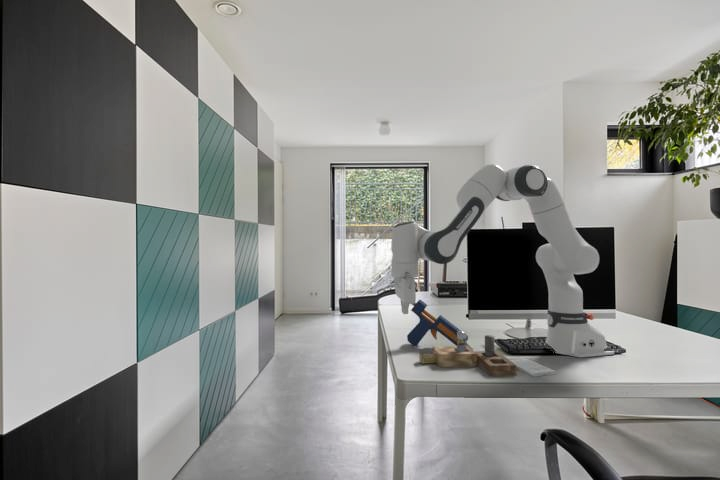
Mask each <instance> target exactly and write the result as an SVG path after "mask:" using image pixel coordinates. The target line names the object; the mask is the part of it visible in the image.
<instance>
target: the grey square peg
mask: <svg viewBox="0 0 720 480" xmlns="http://www.w3.org/2000/svg"><path fill="white" fill-rule="evenodd" d="M466 335H467V332H466V331H464V330H461V331H457V352H466Z"/></svg>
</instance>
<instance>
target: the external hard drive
mask: <svg viewBox="0 0 720 480" xmlns="http://www.w3.org/2000/svg"><path fill="white" fill-rule="evenodd" d="M509 360H510V359H509ZM510 361H511V362H513V363H514V364H515V365H516V370H519V371H520V372H523V373H525V374H528V375H529V376H531V377H540V376H541V377H542V376H548V375H556V374H557V371H556V370H554V369H551V368H549V367H548V366H545V365H542V364H540V363H538V362H536V361H533V360H531V359H529V358H522V359H512V360H510Z"/></svg>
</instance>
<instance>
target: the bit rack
mask: <svg viewBox="0 0 720 480" xmlns="http://www.w3.org/2000/svg"><path fill="white" fill-rule="evenodd" d="M473 351H474V350H473ZM474 352H475V353H476V354H477V366H479V367H480V368H481V369H482V370H483V371H484V372H485V373H486V374H488V376H489V377H493V376H495V377H496V376H499V377H500V376H502V377H503V376H517V369H516V365H515V364H514V363H513V362H511V361H510V359H508V358H507V357H506V356H505V355H503V354H502V353H501V352H499V351H498V350H495V336H494V335H489V334H486V335H484V350H481V351H479V350H477V351H474Z"/></svg>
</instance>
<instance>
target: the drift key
mask: <svg viewBox="0 0 720 480" xmlns="http://www.w3.org/2000/svg"><path fill="white" fill-rule="evenodd" d="M419 362H420V364H422V365H425V364H437V355H436V354H433V353H432V354H431V353H430V354H425V353H424V352H419Z"/></svg>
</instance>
